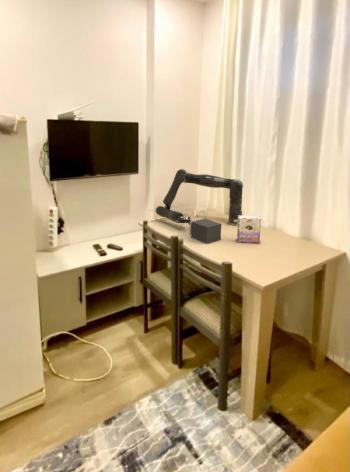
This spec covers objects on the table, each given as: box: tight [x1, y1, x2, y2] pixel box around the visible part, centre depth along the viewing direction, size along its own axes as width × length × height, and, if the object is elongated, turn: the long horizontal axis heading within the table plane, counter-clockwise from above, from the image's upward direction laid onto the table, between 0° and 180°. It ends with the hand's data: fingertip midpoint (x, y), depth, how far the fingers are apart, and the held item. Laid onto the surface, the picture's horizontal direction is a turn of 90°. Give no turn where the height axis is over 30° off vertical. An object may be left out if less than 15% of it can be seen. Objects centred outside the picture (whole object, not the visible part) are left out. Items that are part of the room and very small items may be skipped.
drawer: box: [187, 218, 202, 236], centre depth 214 cm, size 18×11×9 cm, turn 39°
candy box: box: [236, 215, 262, 244], centre depth 205 cm, size 14×6×16 cm, turn 84°
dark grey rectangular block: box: [190, 217, 222, 245], centre depth 210 cm, size 15×13×11 cm
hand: (191, 222), depth 220 cm, fingers closed
